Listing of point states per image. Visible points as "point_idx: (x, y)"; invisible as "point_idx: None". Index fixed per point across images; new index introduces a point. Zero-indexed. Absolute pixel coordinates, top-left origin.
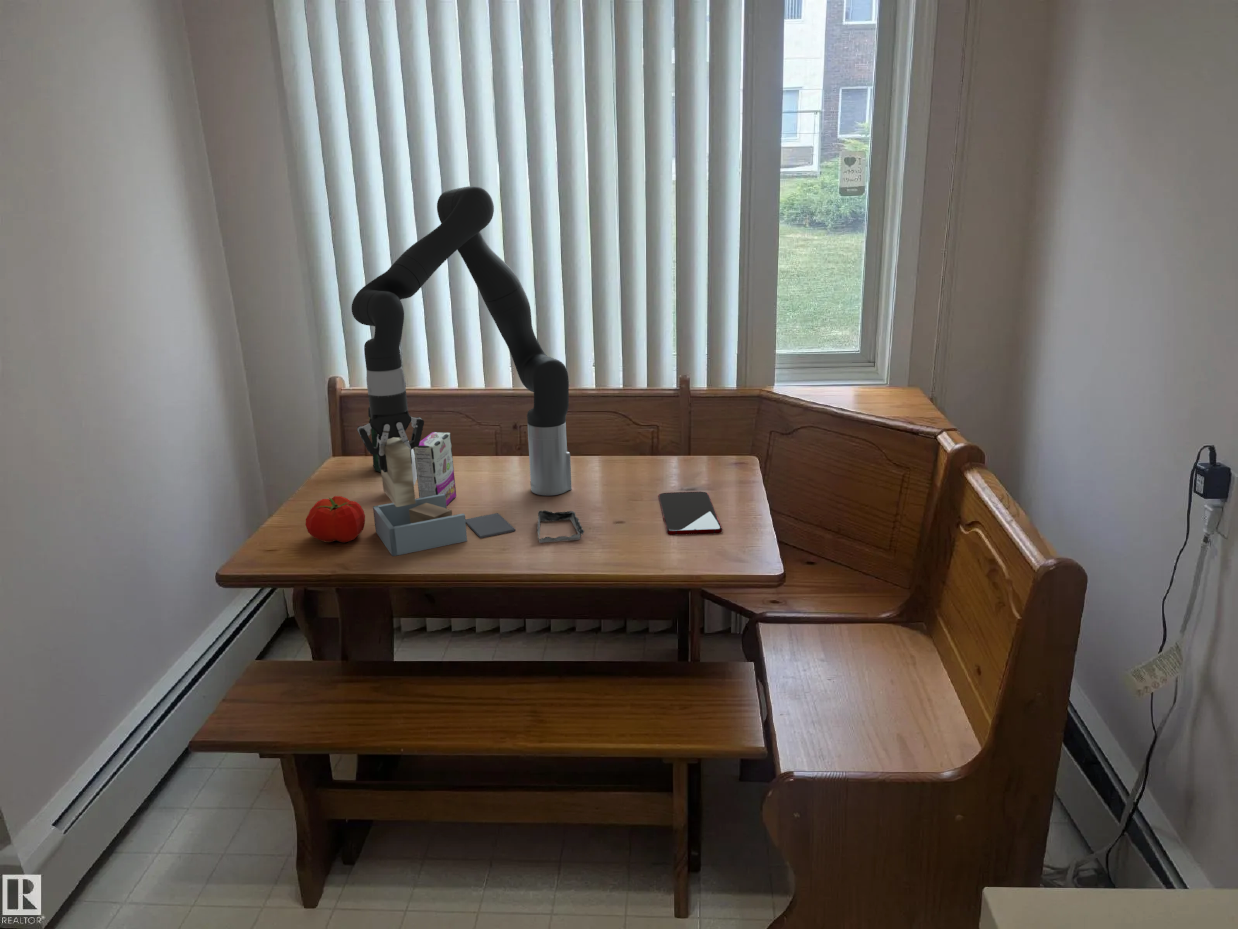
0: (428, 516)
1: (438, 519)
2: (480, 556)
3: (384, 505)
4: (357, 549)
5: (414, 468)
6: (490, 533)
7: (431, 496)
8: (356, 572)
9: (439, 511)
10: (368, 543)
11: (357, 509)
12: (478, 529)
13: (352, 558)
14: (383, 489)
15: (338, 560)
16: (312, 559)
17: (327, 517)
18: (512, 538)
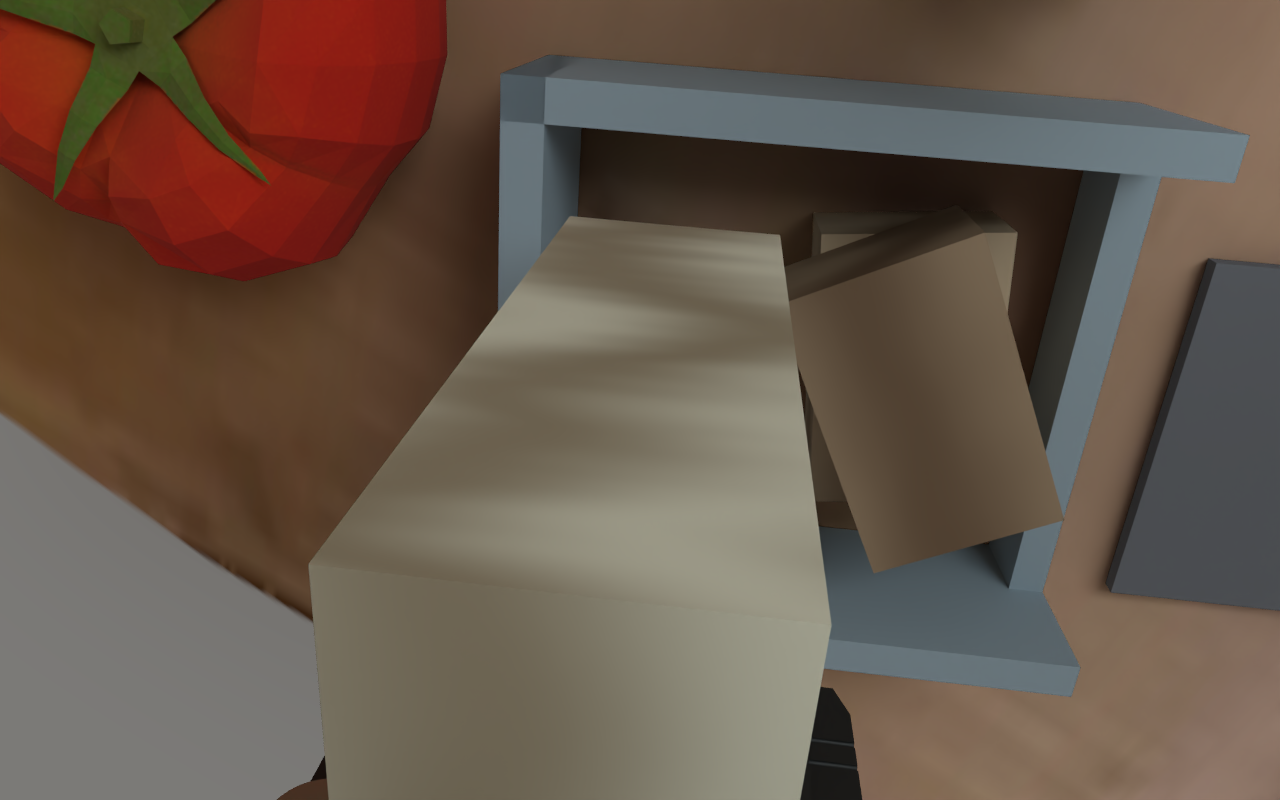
0: (851, 512)
1: (863, 665)
2: (954, 777)
3: (606, 113)
4: (364, 298)
5: None
6: (1189, 594)
7: (1098, 141)
8: (308, 593)
9: (967, 493)
10: (450, 242)
11: (329, 162)
12: (1172, 494)
13: (314, 413)
14: (566, 224)
15: (232, 393)
16: (82, 287)
17: (61, 200)
18: (1258, 686)
